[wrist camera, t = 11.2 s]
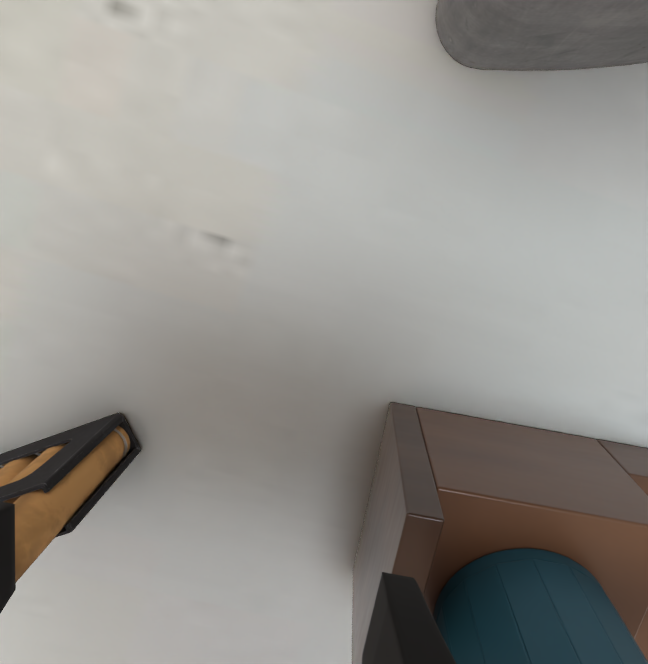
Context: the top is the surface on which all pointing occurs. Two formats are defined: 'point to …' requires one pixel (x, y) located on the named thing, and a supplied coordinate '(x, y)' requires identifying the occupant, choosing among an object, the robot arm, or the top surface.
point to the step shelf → (500, 508)
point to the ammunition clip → (62, 481)
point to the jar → (531, 613)
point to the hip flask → (544, 33)
